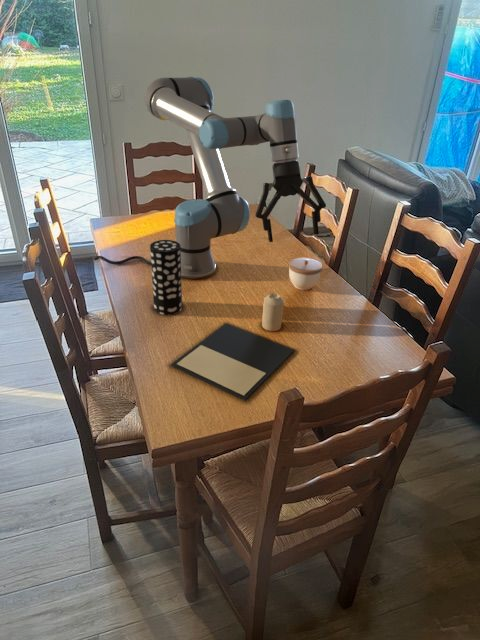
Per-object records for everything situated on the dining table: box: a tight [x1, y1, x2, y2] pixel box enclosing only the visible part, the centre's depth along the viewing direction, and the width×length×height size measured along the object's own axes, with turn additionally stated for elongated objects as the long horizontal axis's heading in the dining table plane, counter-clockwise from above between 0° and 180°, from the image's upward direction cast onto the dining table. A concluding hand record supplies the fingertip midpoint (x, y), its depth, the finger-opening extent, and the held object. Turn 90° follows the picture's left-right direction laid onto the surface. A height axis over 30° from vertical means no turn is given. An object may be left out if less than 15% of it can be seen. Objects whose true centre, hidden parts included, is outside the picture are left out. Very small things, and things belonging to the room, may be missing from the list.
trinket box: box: [288, 257, 323, 291], centre depth 153 cm, size 11×11×9 cm
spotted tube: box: [149, 239, 183, 316], centre depth 135 cm, size 8×8×20 cm
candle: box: [261, 292, 285, 332], centre depth 131 cm, size 6×6×10 cm
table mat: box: [170, 322, 295, 402], centre depth 120 cm, size 22×24×1 cm
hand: (293, 237), depth 136 cm, fingers open, 13 cm apart
